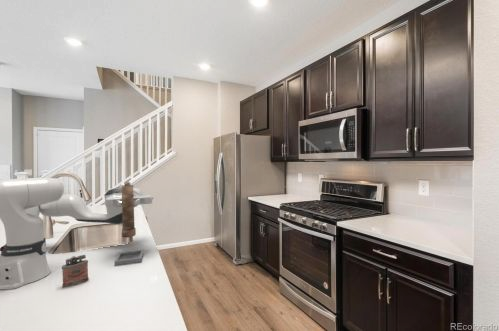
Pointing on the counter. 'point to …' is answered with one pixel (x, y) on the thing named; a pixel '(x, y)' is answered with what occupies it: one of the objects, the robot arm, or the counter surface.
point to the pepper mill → (128, 210)
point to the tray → (129, 257)
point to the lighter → (75, 271)
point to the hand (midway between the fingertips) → (127, 203)
